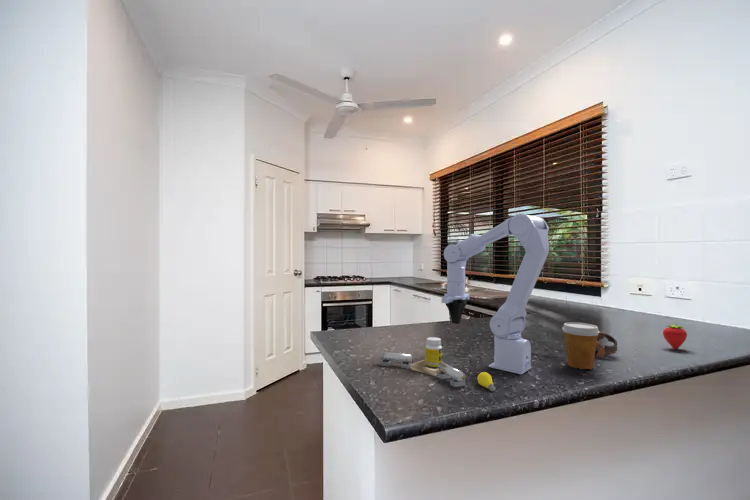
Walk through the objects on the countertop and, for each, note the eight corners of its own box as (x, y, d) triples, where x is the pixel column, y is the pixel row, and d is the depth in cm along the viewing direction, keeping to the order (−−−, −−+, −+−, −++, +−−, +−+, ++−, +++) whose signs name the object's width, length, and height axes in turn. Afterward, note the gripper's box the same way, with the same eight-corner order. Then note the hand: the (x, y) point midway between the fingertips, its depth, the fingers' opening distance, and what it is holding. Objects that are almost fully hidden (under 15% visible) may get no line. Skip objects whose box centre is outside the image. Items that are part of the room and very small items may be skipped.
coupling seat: (448, 370, 100) (448, 365, 100) (434, 376, 95) (435, 370, 95) (424, 363, 106) (425, 359, 106) (410, 369, 101) (410, 364, 101)
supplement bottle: (441, 371, 99) (442, 341, 99) (424, 370, 100) (424, 340, 100) (441, 366, 103) (442, 337, 104) (425, 365, 104) (425, 336, 105)
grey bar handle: (412, 365, 104) (412, 353, 104) (410, 368, 101) (410, 356, 101) (382, 362, 107) (382, 350, 107) (379, 365, 104) (379, 353, 104)
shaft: (436, 376, 95) (436, 362, 95) (446, 374, 96) (446, 361, 96) (455, 388, 87) (456, 373, 87) (466, 386, 88) (466, 371, 88)
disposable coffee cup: (602, 366, 105) (602, 325, 105) (595, 374, 98) (595, 330, 98) (566, 359, 111) (566, 321, 111) (557, 366, 104) (558, 325, 104)
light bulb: (483, 382, 91) (489, 370, 90) (496, 397, 85) (502, 385, 85) (472, 379, 90) (478, 367, 89) (485, 395, 84) (491, 382, 84)
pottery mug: (610, 353, 121) (619, 334, 117) (611, 372, 114) (621, 353, 110) (571, 340, 126) (578, 322, 121) (570, 358, 118) (578, 339, 114)
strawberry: (657, 347, 126) (657, 319, 126) (673, 346, 128) (673, 318, 128) (675, 352, 121) (675, 322, 121) (692, 350, 123) (692, 321, 123)
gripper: (456, 279, 125) (456, 318, 125) (433, 282, 114) (433, 324, 114) (475, 281, 120) (475, 321, 120) (452, 283, 109) (452, 327, 109)
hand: (455, 323), depth 117 cm, fingers closed
